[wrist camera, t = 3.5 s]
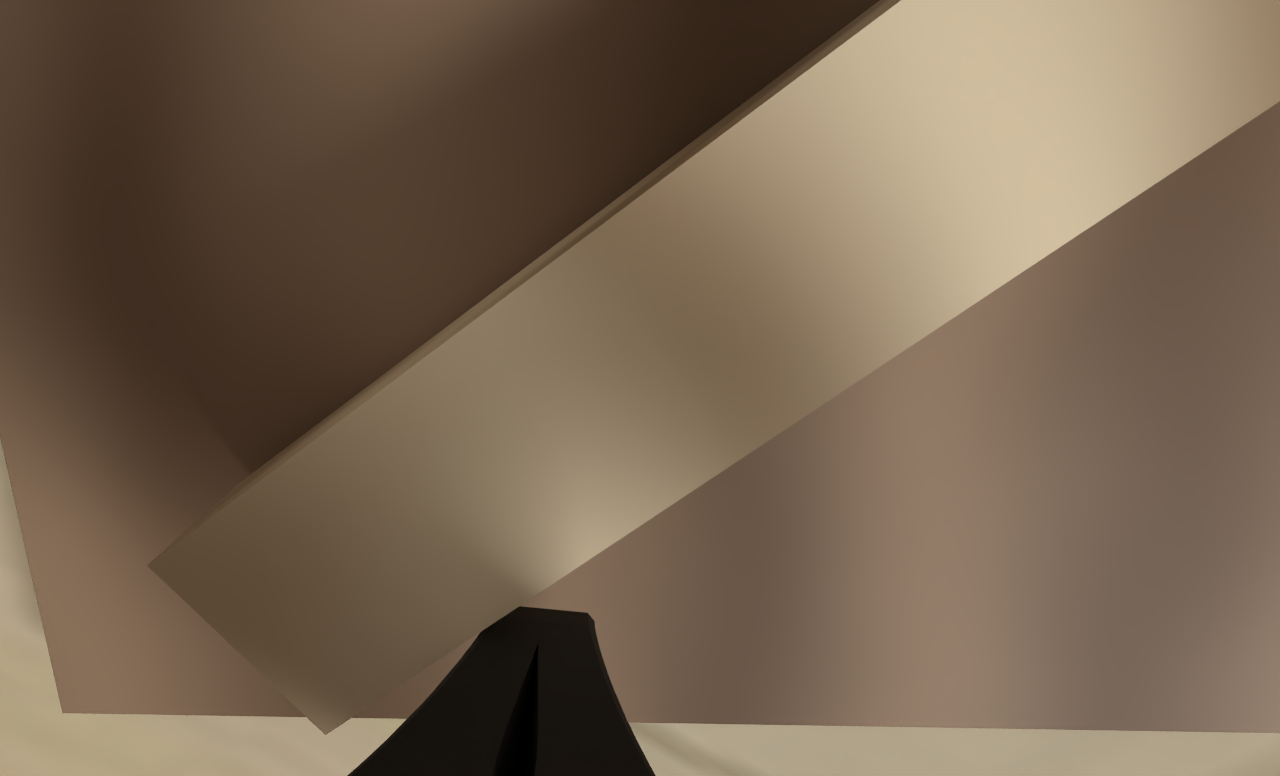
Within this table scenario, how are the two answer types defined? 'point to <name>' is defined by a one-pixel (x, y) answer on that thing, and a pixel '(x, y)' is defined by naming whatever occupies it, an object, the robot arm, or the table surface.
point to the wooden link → (707, 319)
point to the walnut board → (714, 512)
